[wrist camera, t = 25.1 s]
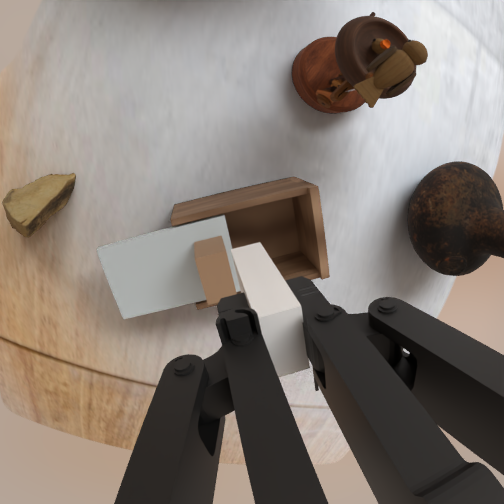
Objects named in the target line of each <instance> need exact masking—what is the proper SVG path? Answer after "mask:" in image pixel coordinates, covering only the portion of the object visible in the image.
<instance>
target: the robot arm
mask: <svg viewBox="0 0 504 504" xmlns="http://www.w3.org/2000/svg"><path fill="white" fill-rule="evenodd" d="M231 253H232V257H233V261H234V265H235V270H236V274H237V278H238V282H239V286H240V290H241V293H239V294H235V295H232V296H228V297H224V298H221V299H220V301H219V303H218V305H217V308H218V313H219V317H218V318H217V320H216V326H217V330H218V333H219V336H220V339H221V342H222V347H221V348H220V349H219V351H217V352H216V353H215V354H214V355H212V356H210V357H208V358H206V359H204V360H202V359H201V357H199V356H196V355H189V354H188V355H183V356H179V357H177V358H175V359H173V360H172V361H170V362H169V363H168V364H167V365H166V367H165V368H164V371H163V373H162V376H161V378H160V381H159V383H158V386H157V388H156V391H155V393H154V396H153V399H152V401H151V404H150V406H149V409H148V412H147V414H146V417H145V420H144V422H143V425H142V428H141V430H140V433H139V436H138V438H137V441H136V444H135V446H134V449H133V452H132V455H131V457H130V460H129V463H128V466H127V469H126V472H125V474H124V477H123V480H122V483H121V486H120V488H119V491H118V494H117V498H116V500H115V503H114V504H213V497H214V490H215V483H216V477H217V471H218V464H219V458H220V451H221V445H222V438H223V432H224V425H225V415H227V414H229V413H231V412H232V411H234V410H235V414H236V419H237V424H238V429H239V434H240V438H241V443H242V448H243V452H244V457H245V461H246V466H247V470H248V475H249V479H250V483H251V487H252V491H253V496H254V500H255V504H328V502H327V499H326V497H325V494H324V492H323V489H322V487H321V484H320V482H319V479H318V477H317V474H316V472H315V469H314V467H313V464H312V462H311V459H310V457H309V454H308V452H307V449H306V447H305V444H304V442H303V439H302V437H301V434H300V432H299V429H298V427H297V424H296V422H295V419H294V416H293V414H292V411H291V409H290V406H289V404H288V401H287V398H286V396H285V393H284V391H283V388H282V385H281V383H280V380H279V378H278V377H281V376H285V375H288V374H291V373H295V372H298V371H301V370H304V369H308V368H310V367H309V360H310V362H311V364H312V366H313V374H314V383H315V390H316V391H318V390H319V389H318V386H319V387H320V389H321V391H322V393H323V395H324V397H325V399H326V401H327V403H328V405H329V407H330V409H331V411H332V413H333V415H334V417H335V419H336V421H337V423H338V425H339V427H340V429H341V431H342V433H343V435H344V437H345V439H346V441H347V443H348V444H349V446H350V448H351V450H352V452H353V454H354V456H355V458H356V460H357V462H358V464H359V466H360V468H361V470H362V472H363V474H364V476H365V478H366V479H367V482H368V484H369V486H370V488H371V490H372V492H373V494H374V495H375V497H376V499H377V501H378V503H379V504H504V488H503V487H502V485H501V484H500V483H499V481H498V480H497V479H496V477H495V476H494V475H493V473H492V472H491V471H490V470H489V469H488V468H487V467H486V466H485V465H483V464H481V463H479V462H473V463H468V462H466V461H465V460H464V459H463V458H462V457H461V456H460V454H459V453H458V452H457V450H456V449H455V448H454V446H453V445H452V444H451V443H450V441H449V440H448V438H447V437H446V436H445V435H444V433H443V432H442V431H441V429H440V428H439V427H441V428H442V429H443V430H445V431H446V432H447V433H449V434H450V435H451V436H453V437H454V438H455V439H456V440H458V441H459V442H460V443H462V444H463V445H464V446H466V447H467V448H468V449H470V450H471V451H472V452H473V453H475V454H476V455H477V456H479V457H480V458H481V459H483V460H484V461H486V462H487V463H488V464H489V465H491V466H492V467H493V468H495V469H496V470H497V471H499V472H500V473H501V474H503V475H504V355H502V354H500V353H499V352H497V351H495V350H493V349H491V348H490V347H488V346H486V345H484V344H482V343H481V342H479V341H477V340H475V339H473V338H471V337H470V336H468V335H466V334H464V333H462V332H460V331H458V330H457V329H455V328H453V327H451V326H449V325H447V324H445V323H444V322H442V321H440V320H438V319H436V318H434V317H432V316H430V315H429V314H427V313H425V312H423V311H421V310H419V309H417V308H415V307H413V306H412V305H410V304H408V303H406V302H404V301H402V300H400V299H397V298H392V297H385V298H384V297H383V298H379V299H377V300H374V301H373V302H372V303H371V304H370V305H369V308H368V313H359V314H347V313H346V311H345V310H344V309H342V308H341V307H339V306H336V305H330V303H329V302H328V301H327V300H326V298H325V297H324V296H323V295H322V293H321V292H320V291H319V290H318V288H317V287H315V285H314V284H313V282H312V281H311V280H310V279H308V278H305V277H303V276H300V277H296V278H292V279H289V280H284V278H283V277H282V275H281V274H280V272H279V271H278V269H277V267H276V266H275V264H274V263H273V261H272V260H271V258H270V257H269V255H268V254H267V252H266V251H265V249H264V247H263V246H262V244H261V243H260V242H258V243H254V244H250V245H246V246H242V247H239V248H235V249H231ZM403 348H404V349H406V350H407V351H409V352H410V354H407V353H406V352H404V351H403ZM308 358H309V359H308ZM438 426H439V427H438Z"/></svg>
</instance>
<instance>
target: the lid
mask: <svg viewBox="0 0 504 504" xmlns="http://www.w3.org/2000/svg"><path fill="white" fill-rule="evenodd" d="M231 249H232V245H231V241H230V237H229V232H228V228H227V224H226V220H225V215H224V214H220V215H216V216H212V217H208V218H204V219H200V220H196V221H192V222H188V223H184V224H181V225H177V226H173V227H169V228H165V229H162V230H158V231H154V232H150V233H147V234H143V235H139V236H136V237H132V238H128V239H125V240H121V241H118V242H114V243H111V244H107V245H104V246H100V247H98V248H97V253H98V256H99V259H100V262H101V264H102V267H103V270H104V272H105V275H106V278H107V280H108V283H109V285H110V288H111V290H112V293H113V295H114V298H115V300H116V303H117V305H118V308H119V310H120V312H121V315H122V317H123V319H127V318H132V317H136V316H140V315H145V314H149V313H153V312H158V311H162V310H166V309H170V308H174V307H179V306H183V305H187V304H191V303H195V302H199V301H203V300H207V303H208V305H210V304H214V303H218V302H219V301H220V299H221V298H224V297H228V296H232V295H235V294H237V293H236V292H239V291H241V290H240V286H239V282H238V278H237V274H236V270H235V265H234V261H233V257H232V253H231Z"/></svg>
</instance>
